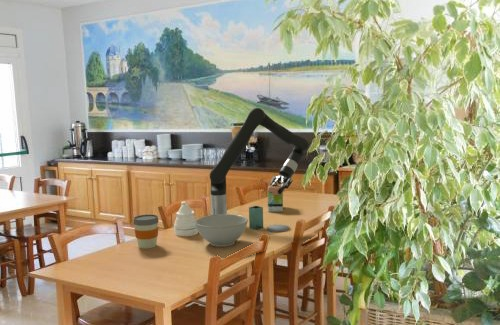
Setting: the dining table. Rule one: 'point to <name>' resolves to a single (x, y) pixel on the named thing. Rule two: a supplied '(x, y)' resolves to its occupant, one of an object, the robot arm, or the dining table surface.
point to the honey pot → (185, 221)
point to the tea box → (275, 202)
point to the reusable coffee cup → (146, 230)
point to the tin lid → (275, 190)
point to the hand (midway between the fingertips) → (274, 192)
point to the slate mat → (278, 228)
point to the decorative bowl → (221, 228)
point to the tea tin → (256, 217)
